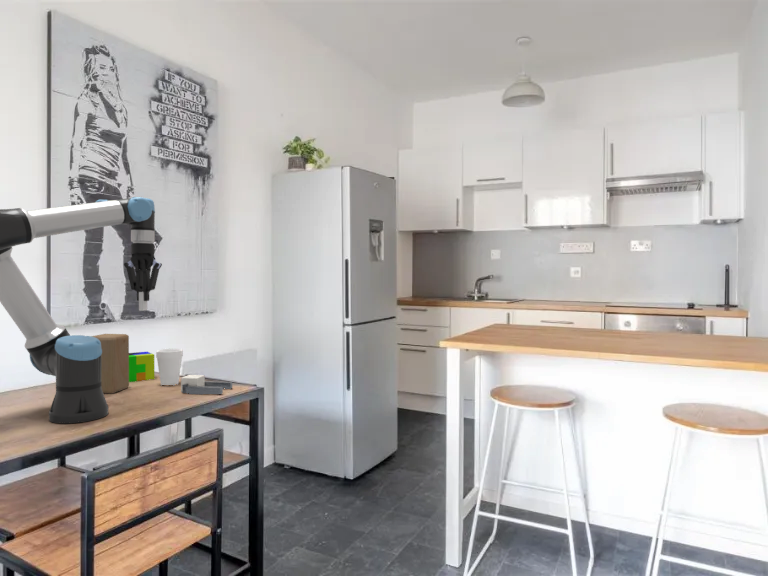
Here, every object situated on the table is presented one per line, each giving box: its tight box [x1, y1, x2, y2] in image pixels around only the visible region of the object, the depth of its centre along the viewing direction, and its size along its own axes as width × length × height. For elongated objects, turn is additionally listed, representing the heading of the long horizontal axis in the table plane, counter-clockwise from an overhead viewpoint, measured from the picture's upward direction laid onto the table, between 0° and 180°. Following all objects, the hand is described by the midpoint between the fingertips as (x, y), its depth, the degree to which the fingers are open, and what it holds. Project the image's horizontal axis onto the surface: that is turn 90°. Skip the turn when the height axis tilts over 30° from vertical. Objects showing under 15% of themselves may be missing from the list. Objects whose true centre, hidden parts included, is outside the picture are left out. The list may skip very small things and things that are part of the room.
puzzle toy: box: [129, 351, 155, 383], centre depth 208 cm, size 10×10×10 cm
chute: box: [181, 380, 233, 395], centre depth 188 cm, size 10×14×3 cm
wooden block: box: [91, 333, 130, 394], centre depth 187 cm, size 10×10×20 cm
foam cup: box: [155, 348, 184, 386], centre depth 198 cm, size 10×9×13 cm
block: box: [180, 374, 206, 393], centre depth 188 cm, size 6×6×5 cm
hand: (143, 310), depth 182 cm, fingers closed
